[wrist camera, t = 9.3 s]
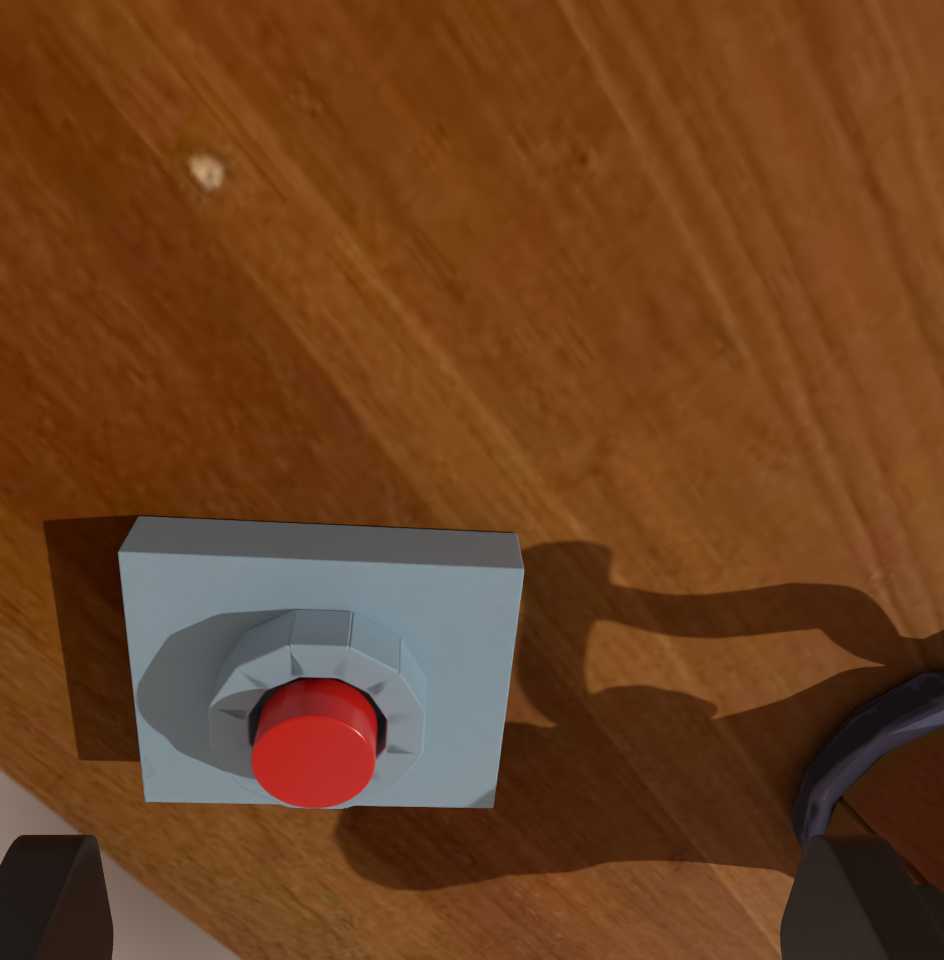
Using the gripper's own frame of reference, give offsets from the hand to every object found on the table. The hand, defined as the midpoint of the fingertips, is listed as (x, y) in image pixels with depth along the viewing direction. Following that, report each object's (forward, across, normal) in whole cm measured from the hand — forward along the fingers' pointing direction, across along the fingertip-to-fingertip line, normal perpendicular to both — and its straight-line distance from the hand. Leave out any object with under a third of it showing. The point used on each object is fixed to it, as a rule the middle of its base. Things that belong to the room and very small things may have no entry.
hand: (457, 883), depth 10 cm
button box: (+18, +3, +11) cm, 21 cm away
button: (+14, +3, +11) cm, 18 cm away
